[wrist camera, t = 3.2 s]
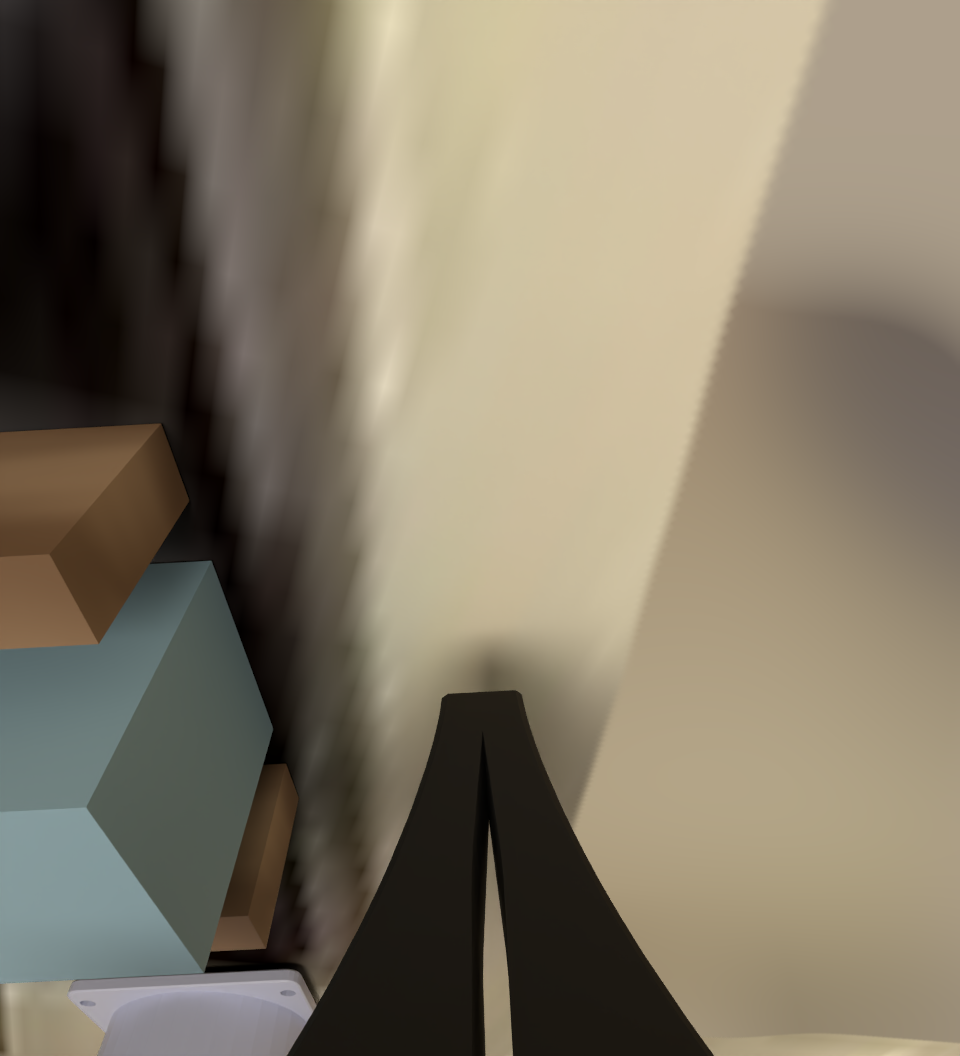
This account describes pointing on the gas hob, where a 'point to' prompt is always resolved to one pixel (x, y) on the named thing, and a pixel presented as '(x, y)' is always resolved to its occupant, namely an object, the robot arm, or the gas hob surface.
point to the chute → (116, 596)
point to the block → (127, 786)
